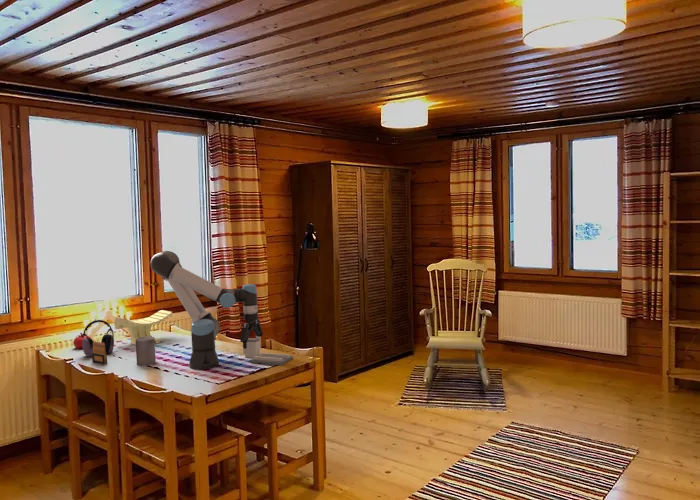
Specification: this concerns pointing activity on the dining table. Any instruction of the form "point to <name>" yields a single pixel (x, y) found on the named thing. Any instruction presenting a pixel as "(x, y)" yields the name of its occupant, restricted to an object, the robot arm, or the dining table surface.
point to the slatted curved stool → (142, 325)
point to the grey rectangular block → (253, 348)
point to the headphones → (107, 340)
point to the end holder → (272, 358)
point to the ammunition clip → (99, 353)
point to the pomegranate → (79, 341)
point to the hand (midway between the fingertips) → (252, 351)
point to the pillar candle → (145, 350)
